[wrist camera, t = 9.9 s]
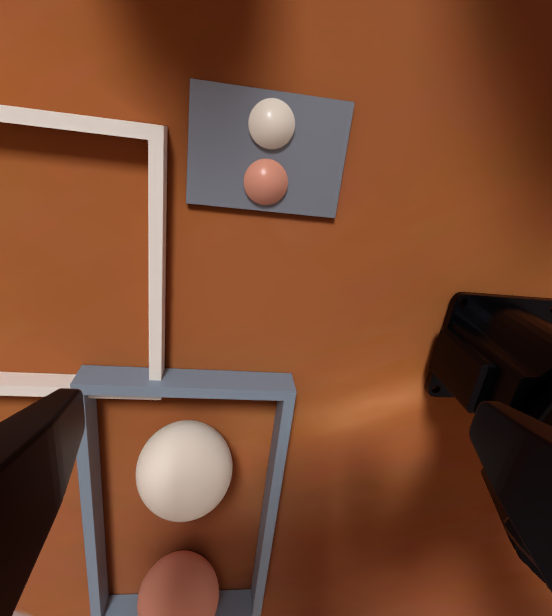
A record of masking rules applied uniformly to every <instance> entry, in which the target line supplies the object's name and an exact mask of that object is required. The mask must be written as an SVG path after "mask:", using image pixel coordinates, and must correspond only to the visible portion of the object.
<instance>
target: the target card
mask: <svg viewBox="0 0 552 616" xmlns="http://www.w3.org/2000/svg"><path fill="white" fill-rule="evenodd" d="M354 103H355V102H349V101H343V100H336V99H329V98H322V97H315V96H308V95H301V94H295V93H288V92H281V91H274V90H267V89H260V88H254V87H247V86H240V85H233V84H226V83H219V82H212V81H206V80H199V79H192V78H190V95H189V127H188V160H187V192H186V203H189V204H199V205H209V206H219V207H229V208H239V209H249V210H259V211H269V212H279V213H289V214H299V215H309V216H319V217H329V218H335V215H336V209H337V203H338V197H339V192H340V186H341V180H342V174H343V168H344V162H345V156H346V150H347V145H348V139H349V133H350V127H351V121H352V115H353V109H354Z"/></svg>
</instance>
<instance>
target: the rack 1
mask: <svg viewBox="0 0 552 616" xmlns="http://www.w3.org/2000/svg"><path fill="white" fill-rule="evenodd" d="M0 122H5V123H13V124H22V125H30V126H38V127H46V128H55V129H63V130H71V131H79V132H88V133H96V134H104V135H112V136H120V137H129V138H137V139H145V140H148V216H149V380H160V381H161V379H162V376H163V372H164V364H165V288H166V212H167V136H168V126H163V125H155V124H147V123H139V122H131V121H123V120H115V119H108V118H100V117H92V116H84V115H76V114H68V113H60V112H53V111H45V110H37V109H29V108H21V107H13V106H6V105H0ZM75 376H76V375H74V374H46V373H19V372H0V396H34V397H45V396H47V395H49V394H50V393H52V392H54V391H56V390H58V389H60V388H70V383H71V382H72V380H73V379H74V377H75ZM88 398H106V399H142V400H161V398H162V397H134V396H99V395H88Z"/></svg>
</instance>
